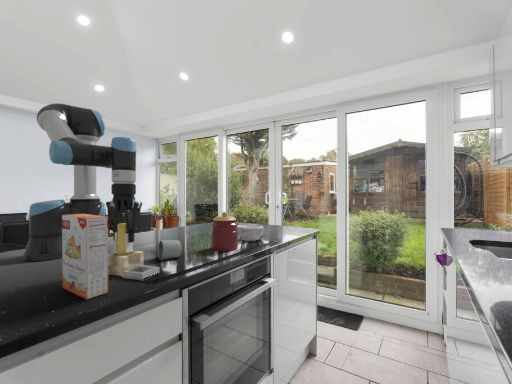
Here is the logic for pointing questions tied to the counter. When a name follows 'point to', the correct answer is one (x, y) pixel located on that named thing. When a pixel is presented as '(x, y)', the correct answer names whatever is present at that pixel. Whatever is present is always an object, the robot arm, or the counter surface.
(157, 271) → the grey mount plate
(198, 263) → the counter surface
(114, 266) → the beech socket block
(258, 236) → the paper bowls
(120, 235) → the ochre pin
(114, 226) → the robot arm
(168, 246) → the ceramic mug
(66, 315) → the counter surface
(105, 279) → the cracker box
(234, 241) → the canister
